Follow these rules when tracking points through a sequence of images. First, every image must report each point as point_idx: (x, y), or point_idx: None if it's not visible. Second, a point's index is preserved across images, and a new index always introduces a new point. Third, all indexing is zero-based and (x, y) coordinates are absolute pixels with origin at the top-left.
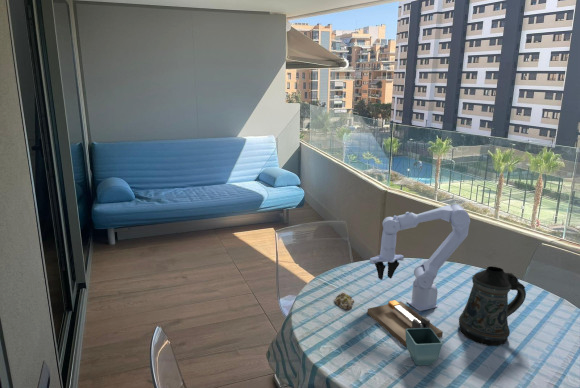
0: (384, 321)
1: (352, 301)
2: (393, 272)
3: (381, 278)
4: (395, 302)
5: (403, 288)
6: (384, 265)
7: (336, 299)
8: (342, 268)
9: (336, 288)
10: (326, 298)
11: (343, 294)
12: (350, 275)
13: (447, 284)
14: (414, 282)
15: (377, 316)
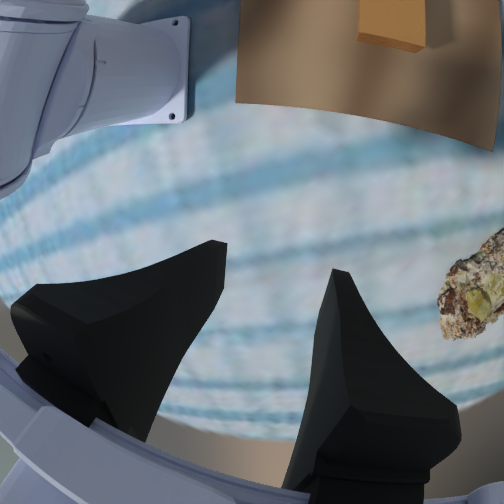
0: (490, 5)
1: (464, 270)
2: (168, 263)
3: (349, 278)
4: (379, 6)
5: (124, 239)
6: (364, 433)
7: (499, 315)
8: (260, 435)
9: None
10: (493, 342)
11: (474, 325)
12: (269, 408)
13: None
14: (69, 111)
15: (497, 58)
